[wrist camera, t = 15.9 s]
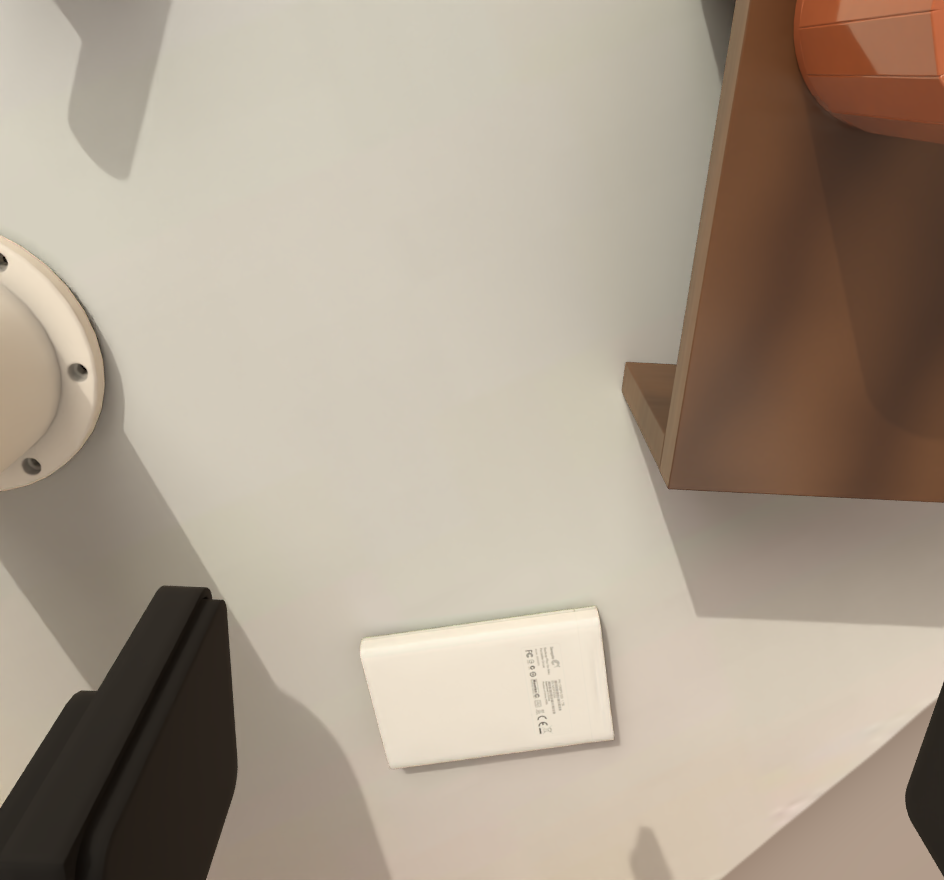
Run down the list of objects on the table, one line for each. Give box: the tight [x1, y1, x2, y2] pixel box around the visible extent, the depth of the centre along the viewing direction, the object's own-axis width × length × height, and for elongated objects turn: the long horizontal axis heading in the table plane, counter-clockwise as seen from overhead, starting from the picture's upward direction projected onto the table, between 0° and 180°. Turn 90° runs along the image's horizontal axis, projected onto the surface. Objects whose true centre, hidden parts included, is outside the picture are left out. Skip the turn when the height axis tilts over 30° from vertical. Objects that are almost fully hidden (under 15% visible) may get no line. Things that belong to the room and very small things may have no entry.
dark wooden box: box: [622, 0, 944, 503], centre depth 31 cm, size 16×20×10 cm
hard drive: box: [360, 606, 614, 769], centre depth 45 cm, size 2×8×12 cm
